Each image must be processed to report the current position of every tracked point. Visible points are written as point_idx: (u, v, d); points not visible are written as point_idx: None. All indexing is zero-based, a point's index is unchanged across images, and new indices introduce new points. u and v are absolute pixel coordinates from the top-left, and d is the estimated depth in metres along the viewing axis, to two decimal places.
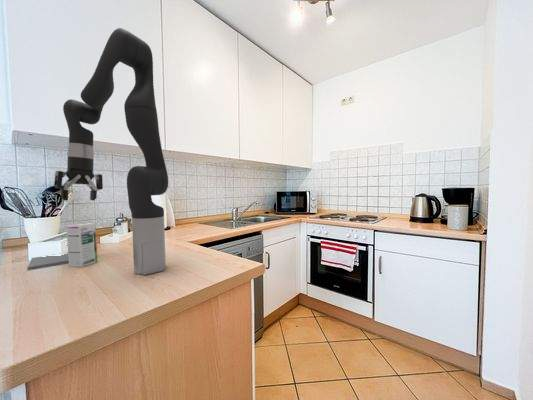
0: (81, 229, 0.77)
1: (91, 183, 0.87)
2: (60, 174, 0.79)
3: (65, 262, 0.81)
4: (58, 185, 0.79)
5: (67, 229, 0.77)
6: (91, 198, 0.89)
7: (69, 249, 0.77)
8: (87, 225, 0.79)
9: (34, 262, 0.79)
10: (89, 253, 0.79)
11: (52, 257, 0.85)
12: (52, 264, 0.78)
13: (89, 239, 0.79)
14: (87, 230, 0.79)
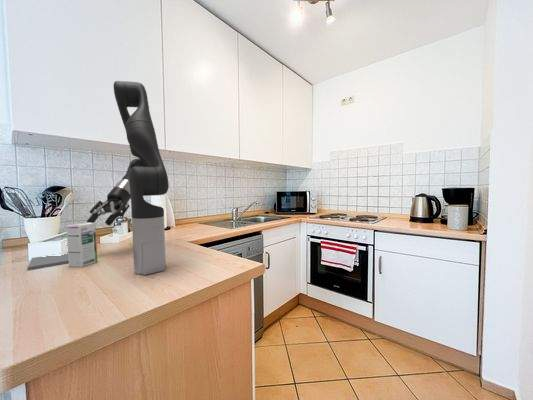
0: (81, 229, 0.77)
1: (112, 207, 0.88)
2: (98, 203, 0.92)
3: (65, 262, 0.81)
4: (90, 210, 0.89)
5: (67, 229, 0.77)
6: None
7: (69, 249, 0.77)
8: (87, 225, 0.79)
9: (34, 262, 0.79)
10: (89, 253, 0.79)
11: (52, 257, 0.85)
12: (52, 264, 0.78)
13: (89, 239, 0.79)
14: (87, 230, 0.79)
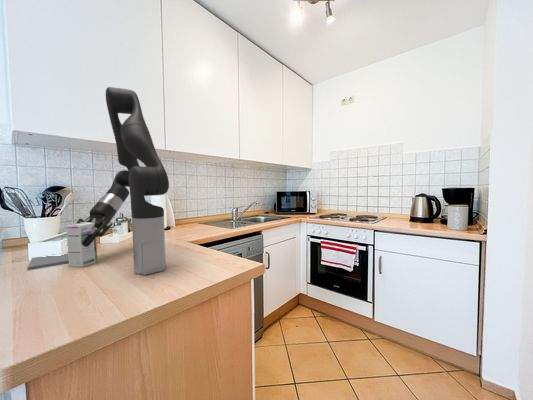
0: (81, 229, 0.77)
1: None
2: (78, 221, 0.84)
3: (65, 262, 0.81)
4: None
5: (67, 229, 0.77)
6: None
7: (69, 249, 0.77)
8: (87, 225, 0.79)
9: (34, 262, 0.79)
10: (89, 253, 0.79)
11: (52, 257, 0.85)
12: (52, 264, 0.78)
13: None
14: (87, 230, 0.79)
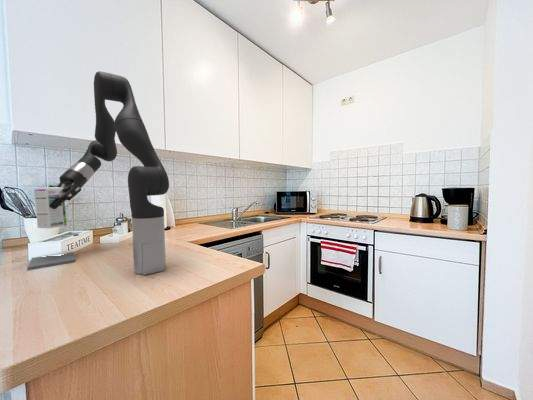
0: (48, 192, 0.80)
1: None
2: None
3: (65, 262, 0.81)
4: None
5: (35, 192, 0.80)
6: None
7: (37, 211, 0.81)
8: (55, 189, 0.82)
9: (34, 262, 0.79)
10: (57, 216, 0.82)
11: (52, 257, 0.85)
12: (52, 264, 0.78)
13: None
14: (55, 193, 0.82)
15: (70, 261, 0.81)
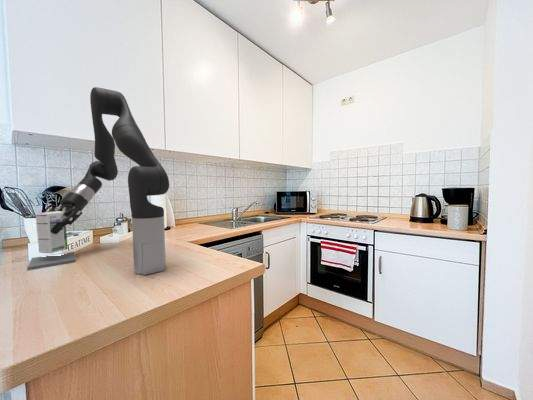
0: (50, 217, 0.80)
1: None
2: (50, 210, 0.88)
3: (65, 262, 0.81)
4: None
5: (36, 217, 0.81)
6: None
7: (39, 236, 0.81)
8: (56, 213, 0.82)
9: (34, 262, 0.79)
10: (58, 240, 0.83)
11: (52, 257, 0.85)
12: (52, 264, 0.78)
13: None
14: (56, 218, 0.82)
15: (70, 261, 0.81)
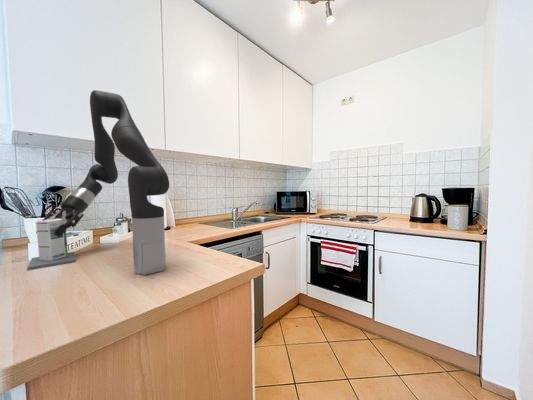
0: (50, 225, 0.81)
1: (63, 217, 0.84)
2: (51, 212, 0.88)
3: (65, 262, 0.81)
4: None
5: (37, 225, 0.81)
6: None
7: (39, 244, 0.81)
8: (57, 221, 0.83)
9: (34, 262, 0.79)
10: (59, 247, 0.83)
11: None
12: (52, 264, 0.78)
13: None
14: (57, 225, 0.83)
15: (70, 261, 0.81)
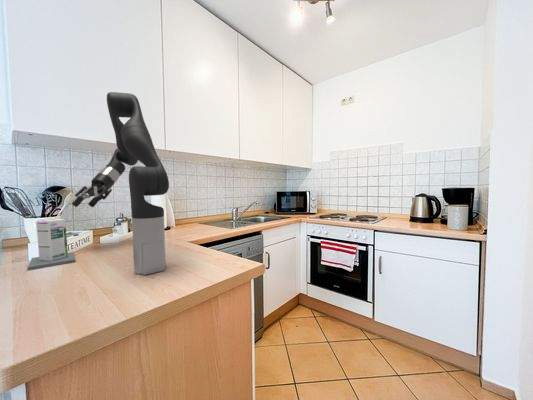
0: (50, 225, 0.81)
1: (95, 191, 0.96)
2: (83, 187, 1.00)
3: (65, 262, 0.81)
4: (76, 194, 0.98)
5: (37, 225, 0.81)
6: None
7: (39, 244, 0.81)
8: (57, 221, 0.83)
9: (34, 262, 0.79)
10: (59, 247, 0.83)
11: None
12: (52, 264, 0.78)
13: (59, 234, 0.83)
14: (57, 226, 0.83)
15: (70, 261, 0.81)
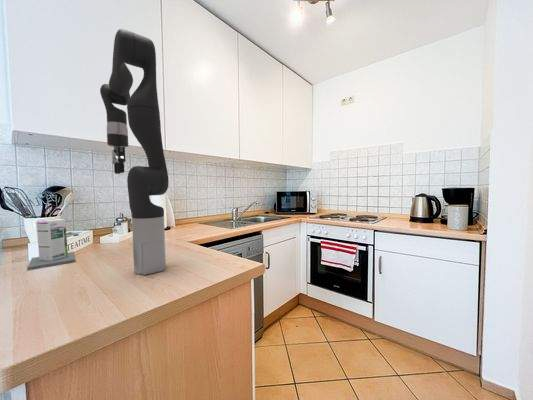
0: (50, 225, 0.81)
1: (115, 156, 0.94)
2: None
3: (65, 262, 0.81)
4: None
5: (37, 225, 0.81)
6: None
7: (39, 244, 0.81)
8: (57, 221, 0.83)
9: (34, 262, 0.79)
10: (59, 247, 0.83)
11: None
12: (52, 264, 0.78)
13: (59, 234, 0.83)
14: (57, 226, 0.83)
15: (70, 261, 0.81)
